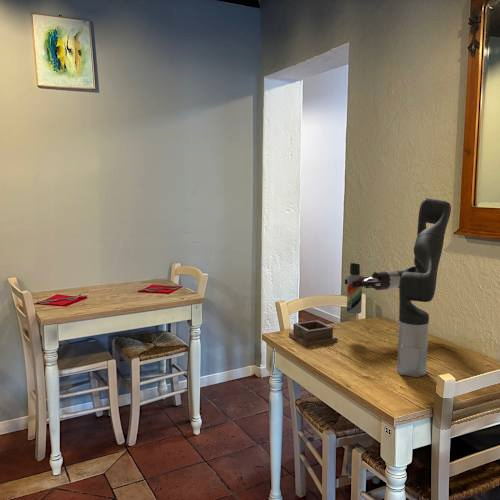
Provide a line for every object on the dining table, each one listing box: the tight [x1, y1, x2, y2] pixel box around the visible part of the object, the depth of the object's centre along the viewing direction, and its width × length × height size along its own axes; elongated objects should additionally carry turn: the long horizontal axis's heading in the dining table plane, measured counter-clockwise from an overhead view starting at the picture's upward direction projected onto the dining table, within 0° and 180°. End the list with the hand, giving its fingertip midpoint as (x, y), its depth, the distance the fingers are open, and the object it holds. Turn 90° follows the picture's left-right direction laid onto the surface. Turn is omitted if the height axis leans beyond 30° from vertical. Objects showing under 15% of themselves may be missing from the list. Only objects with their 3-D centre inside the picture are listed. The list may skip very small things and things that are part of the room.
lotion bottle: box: [346, 262, 363, 315], centre depth 193 cm, size 6×6×20 cm
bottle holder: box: [288, 319, 338, 348], centre depth 194 cm, size 14×14×6 cm
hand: (348, 283), depth 192 cm, fingers closed on lotion bottle, 5 cm apart
